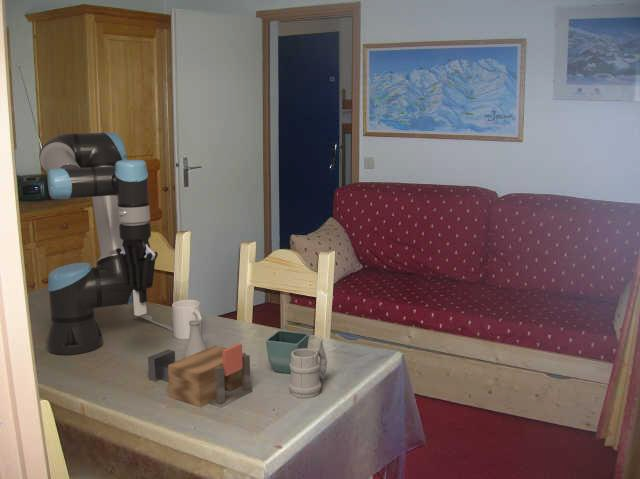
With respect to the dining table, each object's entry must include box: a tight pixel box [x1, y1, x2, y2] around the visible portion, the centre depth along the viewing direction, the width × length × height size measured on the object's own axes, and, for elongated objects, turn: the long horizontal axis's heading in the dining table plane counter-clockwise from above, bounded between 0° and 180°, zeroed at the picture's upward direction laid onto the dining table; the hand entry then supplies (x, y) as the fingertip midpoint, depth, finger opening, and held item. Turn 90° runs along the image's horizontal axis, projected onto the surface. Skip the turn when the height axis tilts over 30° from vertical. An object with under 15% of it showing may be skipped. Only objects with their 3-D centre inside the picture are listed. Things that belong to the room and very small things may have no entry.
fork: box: [134, 314, 173, 332], centre depth 219 cm, size 3×21×3 cm, turn 50°
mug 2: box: [288, 336, 328, 399], centre depth 166 cm, size 8×12×12 cm, turn 141°
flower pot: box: [265, 330, 310, 375], centre depth 179 cm, size 9×9×9 cm
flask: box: [182, 320, 208, 359], centre depth 189 cm, size 7×7×10 cm
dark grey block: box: [147, 348, 176, 384], centre depth 173 cm, size 12×7×6 cm, turn 55°
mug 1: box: [171, 299, 203, 340], centre depth 205 cm, size 8×12×10 cm, turn 41°
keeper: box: [222, 342, 243, 376], centre depth 161 cm, size 1×6×6 cm, turn 146°
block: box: [168, 345, 253, 408], centre depth 165 cm, size 14×16×9 cm
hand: (140, 314), depth 177 cm, fingers closed
